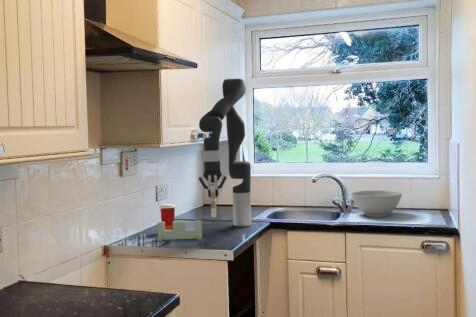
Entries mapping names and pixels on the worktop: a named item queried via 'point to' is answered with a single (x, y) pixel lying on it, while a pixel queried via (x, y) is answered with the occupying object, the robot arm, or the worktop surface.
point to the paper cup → (168, 215)
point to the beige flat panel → (213, 199)
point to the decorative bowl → (376, 202)
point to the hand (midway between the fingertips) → (213, 197)
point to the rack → (179, 231)
